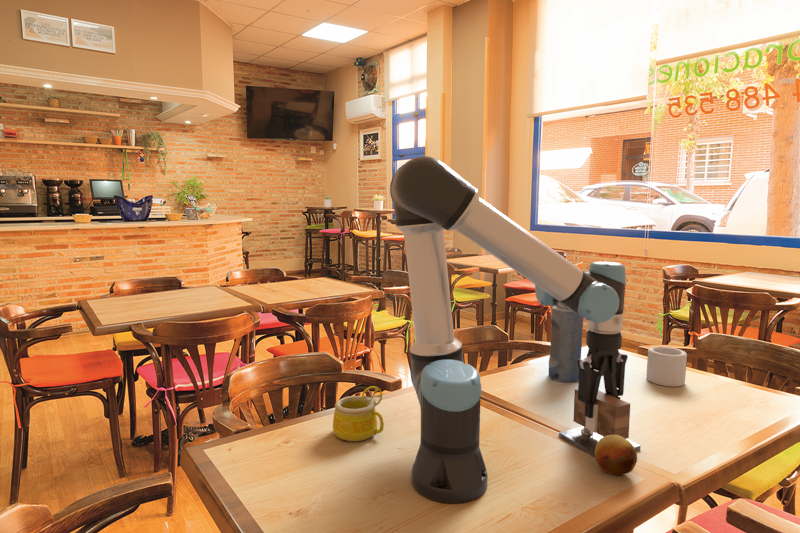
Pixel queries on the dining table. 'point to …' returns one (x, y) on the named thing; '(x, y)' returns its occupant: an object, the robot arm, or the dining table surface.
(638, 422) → the dining table surface
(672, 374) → the mug
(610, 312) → the robot arm
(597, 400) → the door
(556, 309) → the bottle
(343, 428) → the mug
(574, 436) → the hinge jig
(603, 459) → the fruit
